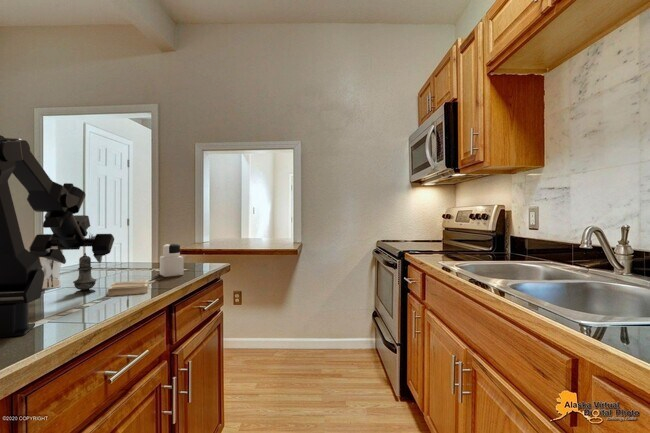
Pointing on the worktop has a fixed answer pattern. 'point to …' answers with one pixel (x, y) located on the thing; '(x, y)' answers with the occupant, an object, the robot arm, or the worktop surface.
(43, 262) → the beer glass
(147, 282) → the oak base
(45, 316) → the worktop surface
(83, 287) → the salt shaker
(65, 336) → the worktop surface
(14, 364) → the worktop surface
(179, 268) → the medicine bottle
